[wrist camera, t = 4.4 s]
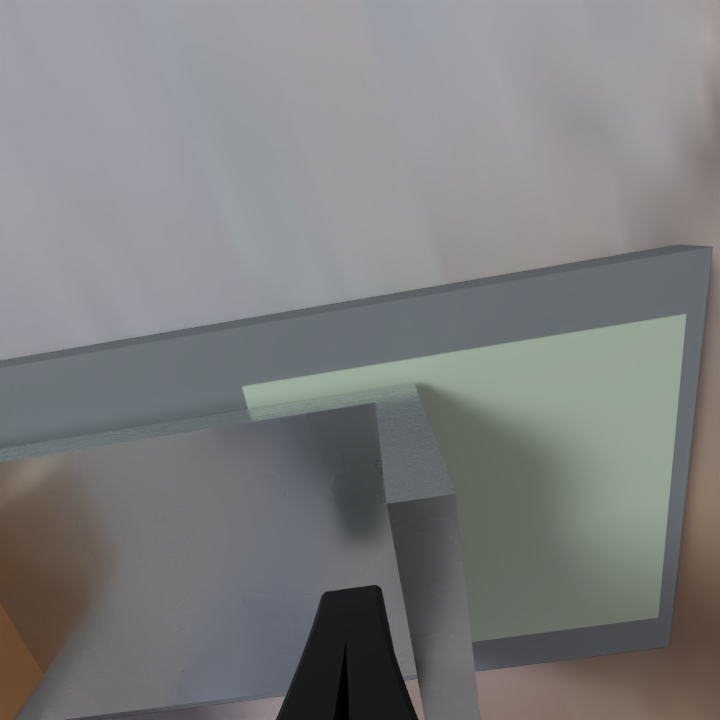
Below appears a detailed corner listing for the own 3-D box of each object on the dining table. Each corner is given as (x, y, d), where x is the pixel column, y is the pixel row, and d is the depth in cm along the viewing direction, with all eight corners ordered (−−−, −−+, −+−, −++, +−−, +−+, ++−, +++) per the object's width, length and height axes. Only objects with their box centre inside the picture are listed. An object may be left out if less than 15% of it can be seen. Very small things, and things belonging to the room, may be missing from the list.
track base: (648, 619, 14) (671, 649, 13) (-324, 745, 16) (-371, 782, 15) (679, 244, 10) (716, 246, 9) (-635, 469, 12) (-730, 493, 11)
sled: (449, 643, 13) (494, 840, 9) (-112, 716, 14) (-312, 927, 9) (414, 382, 10) (455, 494, 6) (-294, 496, 11) (-693, 663, 7)
